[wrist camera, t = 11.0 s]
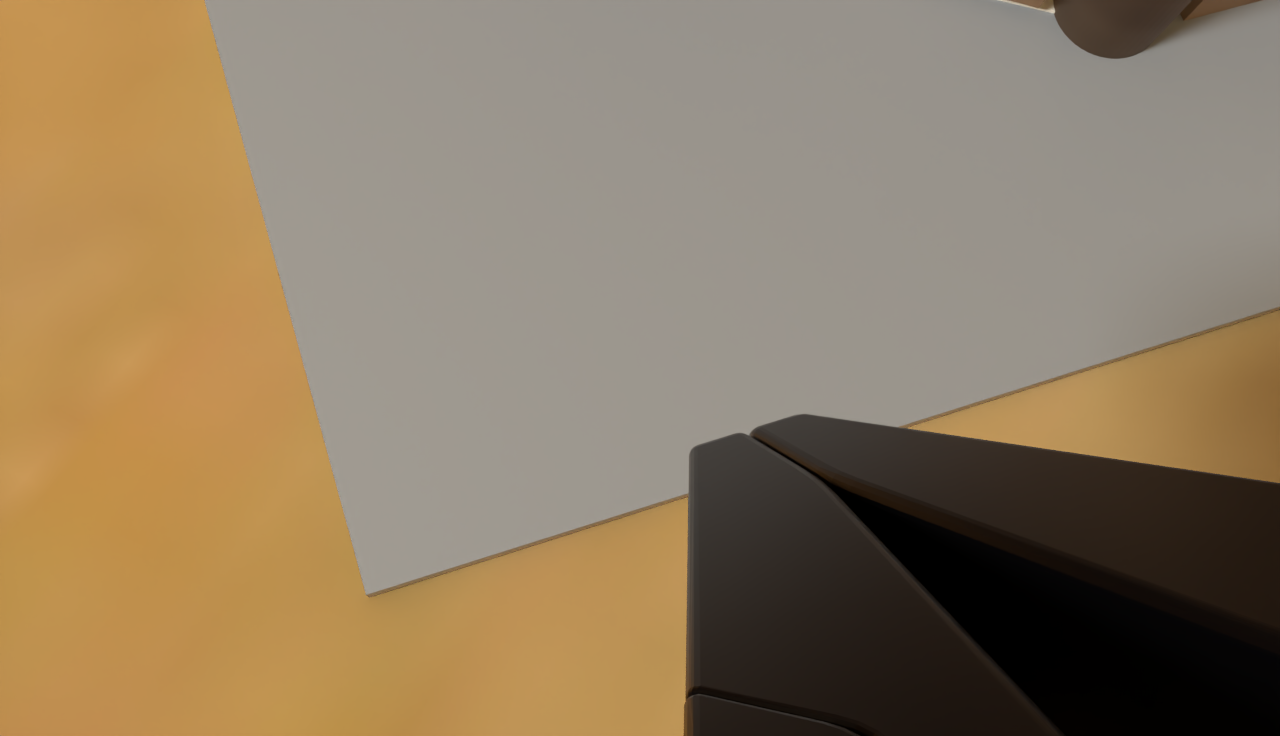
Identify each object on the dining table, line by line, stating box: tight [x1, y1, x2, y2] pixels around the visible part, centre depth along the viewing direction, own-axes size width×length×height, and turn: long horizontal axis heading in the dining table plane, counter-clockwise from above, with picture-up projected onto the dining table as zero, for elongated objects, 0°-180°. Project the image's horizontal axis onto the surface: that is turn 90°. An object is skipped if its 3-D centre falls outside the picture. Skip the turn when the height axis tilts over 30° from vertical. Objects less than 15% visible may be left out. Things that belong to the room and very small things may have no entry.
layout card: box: [205, 0, 1280, 597], centre depth 21 cm, size 12×25×1 cm, turn 108°
